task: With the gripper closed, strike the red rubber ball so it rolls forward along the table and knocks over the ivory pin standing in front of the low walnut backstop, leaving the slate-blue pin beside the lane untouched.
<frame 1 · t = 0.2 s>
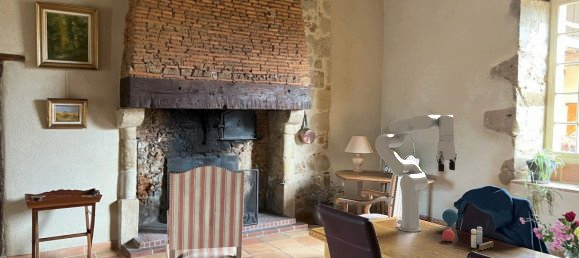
hand: (446, 170, 236), 36 cm above the table, tool pointing down, fingers open, 9 cm apart
ivory pin: (473, 247, 219), on the table
ball: (448, 235, 231), on the table
slate-blue pin: (479, 244, 224), on the table
blue ovoid piece: (450, 230, 254), on the table
backstop: (486, 248, 217), on the table
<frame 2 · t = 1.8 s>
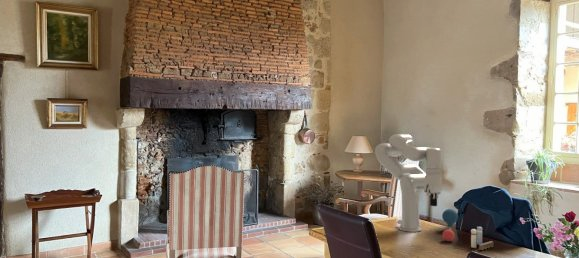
hand: (433, 205, 238), 17 cm above the table, tool pointing down, fingers closed
nothing on the table moved.
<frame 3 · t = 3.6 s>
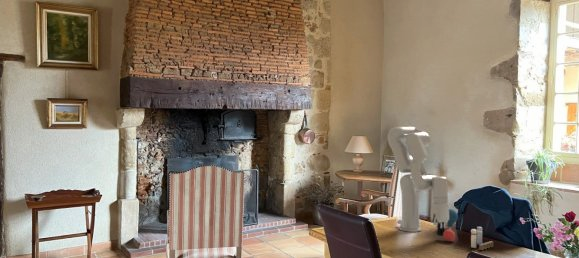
hand: (441, 235, 234), 2 cm above the table, tool pointing down, fingers closed
ball: (449, 235, 230), on the table, touching gripper
everything else where it was.
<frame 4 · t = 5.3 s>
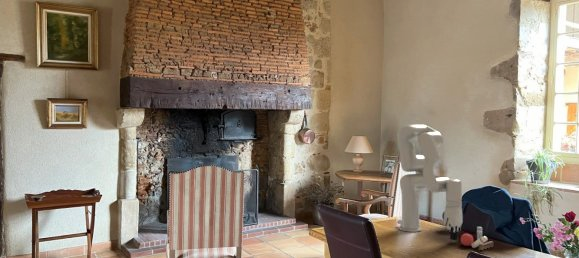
hand: (453, 239, 228), 2 cm above the table, tool pointing down, fingers closed
ivory pin: (473, 245, 218), point 1 cm above the table, tilted 52°
ball: (467, 239, 222), on the table
everything else where it was.
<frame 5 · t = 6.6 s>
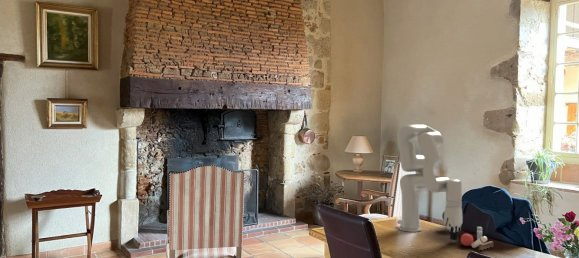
hand: (453, 239, 228), 2 cm above the table, tool pointing down, fingers closed
ivory pin: (473, 245, 218), point 1 cm above the table, tilted 53°, touching backstop
everything else where it was.
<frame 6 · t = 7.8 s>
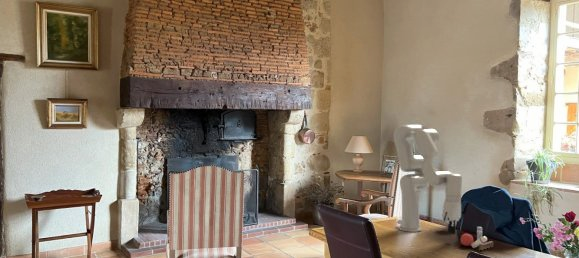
hand: (451, 233, 229), 4 cm above the table, tool pointing down, fingers closed
nothing on the table moved.
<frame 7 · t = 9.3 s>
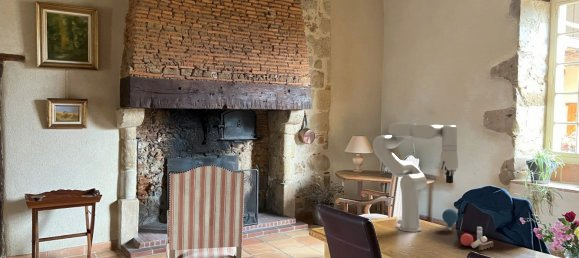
hand: (449, 182, 238), 29 cm above the table, tool pointing down, fingers closed
nothing on the table moved.
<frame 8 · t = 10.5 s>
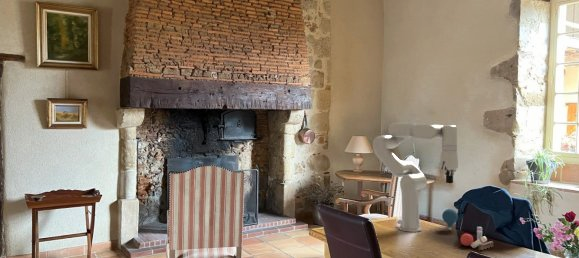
hand: (449, 182, 238), 29 cm above the table, tool pointing down, fingers closed
nothing on the table moved.
at the end: ivory pin tilted 53°; ivory pin never touched the robot; ball moved 10.7 cm from its start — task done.
